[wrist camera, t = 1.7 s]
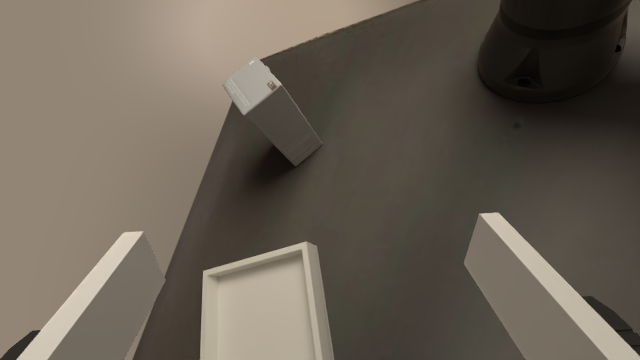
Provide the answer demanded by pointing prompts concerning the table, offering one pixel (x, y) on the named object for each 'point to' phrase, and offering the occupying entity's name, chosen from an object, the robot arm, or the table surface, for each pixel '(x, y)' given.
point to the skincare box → (272, 111)
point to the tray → (266, 308)
